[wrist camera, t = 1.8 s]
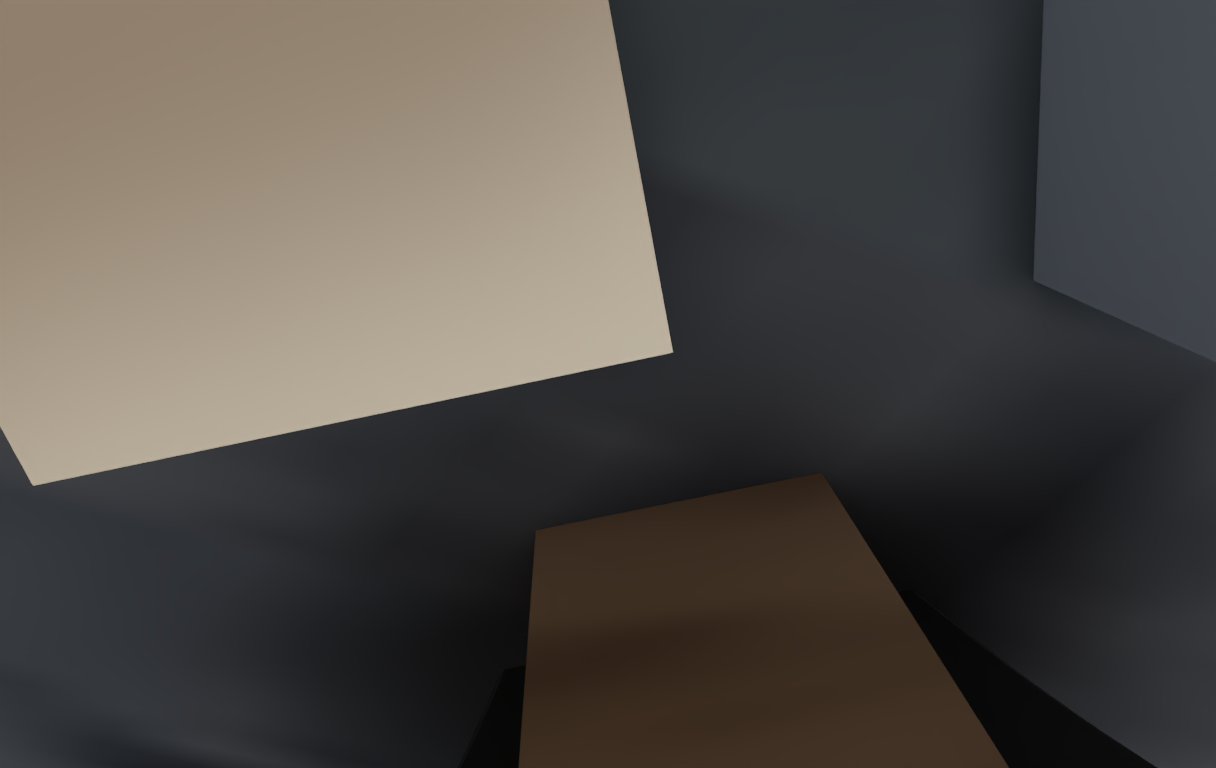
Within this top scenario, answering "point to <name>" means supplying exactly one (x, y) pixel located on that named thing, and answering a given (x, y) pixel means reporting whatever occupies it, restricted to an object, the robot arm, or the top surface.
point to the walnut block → (733, 644)
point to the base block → (1130, 163)
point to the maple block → (305, 216)
